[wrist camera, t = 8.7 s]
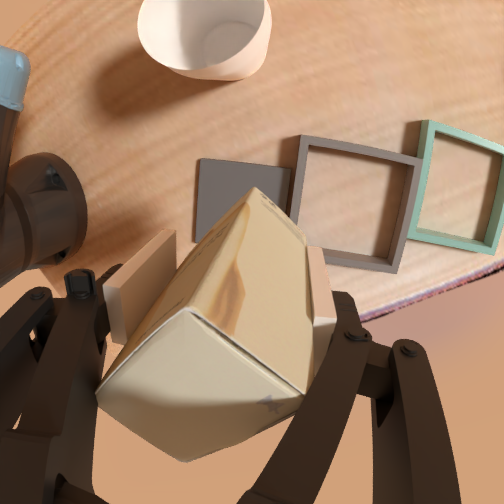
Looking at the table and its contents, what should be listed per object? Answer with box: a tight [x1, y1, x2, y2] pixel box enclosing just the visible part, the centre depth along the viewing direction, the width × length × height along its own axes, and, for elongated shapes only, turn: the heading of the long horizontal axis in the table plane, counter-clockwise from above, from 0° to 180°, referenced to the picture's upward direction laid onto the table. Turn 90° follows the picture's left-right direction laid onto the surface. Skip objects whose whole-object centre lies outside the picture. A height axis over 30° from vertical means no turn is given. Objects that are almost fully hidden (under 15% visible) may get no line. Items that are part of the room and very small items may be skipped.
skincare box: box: [95, 187, 315, 463], centre depth 14 cm, size 6×4×12 cm
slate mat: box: [195, 158, 291, 243], centre depth 33 cm, size 9×9×1 cm
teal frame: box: [407, 120, 504, 256], centre depth 28 cm, size 12×12×2 cm
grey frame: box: [290, 135, 423, 274], centre depth 30 cm, size 12×12×2 cm
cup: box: [138, 0, 271, 81], centre depth 22 cm, size 9×9×12 cm
